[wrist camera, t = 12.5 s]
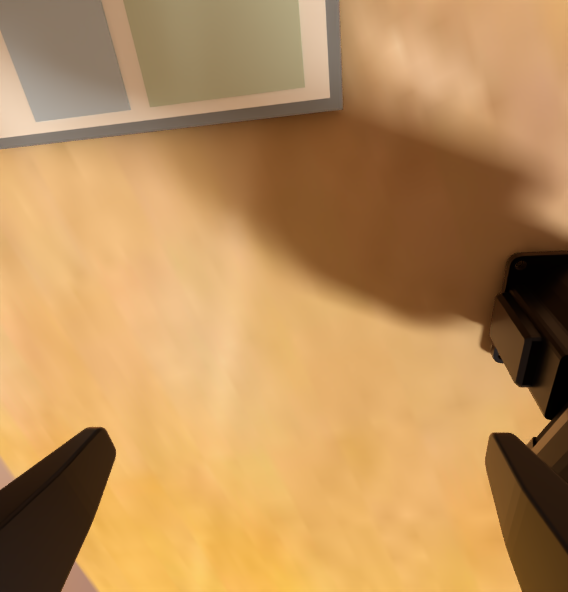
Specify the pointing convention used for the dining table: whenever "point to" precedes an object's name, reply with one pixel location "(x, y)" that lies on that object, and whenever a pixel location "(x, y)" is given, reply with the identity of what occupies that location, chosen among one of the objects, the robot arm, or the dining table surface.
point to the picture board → (161, 65)
